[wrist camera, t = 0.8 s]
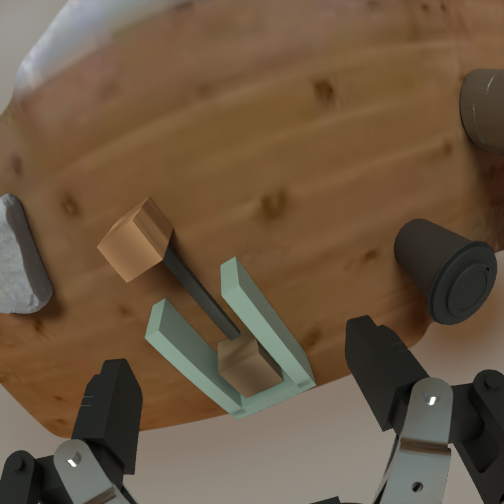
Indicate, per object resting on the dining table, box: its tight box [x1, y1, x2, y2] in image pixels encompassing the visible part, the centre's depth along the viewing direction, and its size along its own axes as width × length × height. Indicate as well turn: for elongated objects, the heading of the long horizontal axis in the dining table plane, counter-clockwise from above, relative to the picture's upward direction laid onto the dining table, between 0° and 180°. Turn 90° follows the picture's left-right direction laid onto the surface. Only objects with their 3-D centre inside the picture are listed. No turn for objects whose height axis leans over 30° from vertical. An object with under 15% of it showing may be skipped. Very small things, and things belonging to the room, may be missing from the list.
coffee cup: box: [394, 219, 497, 325], centre depth 26 cm, size 8×8×10 cm
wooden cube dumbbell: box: [97, 196, 284, 398], centre depth 28 cm, size 4×21×6 cm, turn 31°
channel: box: [145, 256, 316, 420], centre depth 30 cm, size 10×15×5 cm, turn 31°
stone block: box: [0, 193, 53, 314], centre depth 25 cm, size 12×5×10 cm
